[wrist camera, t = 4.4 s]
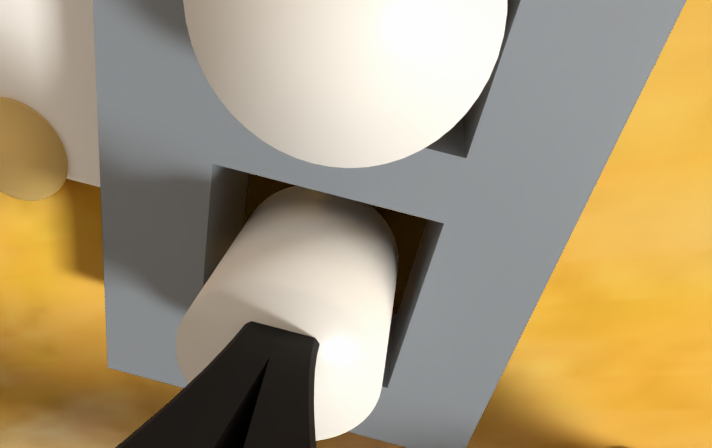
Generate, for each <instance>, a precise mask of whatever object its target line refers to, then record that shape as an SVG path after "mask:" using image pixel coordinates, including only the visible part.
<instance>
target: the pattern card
mask: <svg viewBox="0 0 712 448" xmlns="http://www.w3.org/2000/svg"><path fill="white" fill-rule="evenodd" d="M66 179H70V180H74V181H78V182H82V183H85V184H89V185H93V186H97V187H100V165H99V141H98V117H97V92H96V68H95V43H94V19H93V0H0V191H1V192H3V193H5V194H7V195H9V196H11V197H14V198H17V199H21V200H28V201H36V200H42V199H45V198H48V197H49V196H51V195H53V194H54V193H56V192H57V191H58V190H59V189H61V187H62V186H63V185H64V183H65V181H66Z"/></svg>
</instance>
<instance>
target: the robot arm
mask: <svg viewBox="0 0 712 448" xmlns="http://www.w3.org/2000/svg"><path fill="white" fill-rule="evenodd" d="M319 345H320V344H319V342H318V341H317V339H316V338H314V337H311V336H307V335H303V334H299V333H295V332H291V331H288V330H284V329H280V328H276V327H272V326H269V325H265V324H261V323H257V322H253V321H250V322H248V323H246V324H245V325H244V326H243V327H242V328H241V330H240V331H239V332H238V333H237V334H236V335H235V337H234V338H233V339H232V340H231V341H230V342H229V343H228V345H227V346H226V347H225V348H224V349H223V350H222V351H221V352H220V353H219V354H218V355H217V356H216V357H215V358H214V359H213V360H212V361H211V362H210V363H209V364H208V366H207V367H206V368H205V369H204V370H203V371H202V372H201V373H199V374H198V375H197V376H196V377H195V378H194V379H193V380H192V381H191V382H190V383H189V384H188V385H187V386H186V387H185V388H184V389H183V390H182V391H181V392H179V393H178V394H177V395H176V396H175V397H174V398H173V399H172V400H171V401H170V402H169V403H168V404H166V405H165V406H164V407H163V408H162V409H161V410H160V411H158V412H157V413H156V414H155V415H154V416H153V417H151V418H150V419H149V420H148V421H147V422H145V423H144V424H143V425H142V426H141V427H140V428H138V429H137V430H136V431H135V432H134V433H133V434H131V435H130V436H129V437H128V438H127V439H125V440H124V441H123V442H122V443H120V444H119V445H118V446H117V447H115V448H316V436H315V419H314V380H315V367H316V359H317V354H318V350H319Z"/></svg>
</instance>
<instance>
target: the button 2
mask: <svg viewBox="0 0 712 448" xmlns="http://www.w3.org/2000/svg"><path fill="white" fill-rule="evenodd" d="M398 265H399V255H398V248H397V244H396V240H395V238H394V235H393V233H392V231H391V229H390V227H389V226H388V224H387V222H386V221H385V220H384V219H383V217H382V216H381V215H380V214H379V213H378V212H377V211H376V210H375V209H374V208H373V207H372V206H371V205H369V204H367V203H363V202H359V201H355V200H351V199H347V198H343V197H339V196H336V195H332V194H328V193H324V192H320V191H316V190H312V189H308V188H304V187H301V186H293V187H289V188H286V189H283V190H281V191H278V192H276V193H274V194H272V195H271V196H269V197H268V198H266V199H265V200H264V201H263V202H262V203H261V204H260V205H258V207H257V208H256V209H255V210H254V212H253V213H252V215H251V216H250V218H249V219H248V221H247V222H246V224H245V225H244V227H243V228H242V230H241V231H240V233H239V234H238V236H237V237H236V239H235V240H234V242H233V243H232V245H231V246H230V248H229V249H228V251H227V252H226V254H225V255H224V257H223V258H222V260H221V261H220V263H219V264H218V266H217V267H216V269H215V270H214V272H213V273H212V275H211V276H210V278H209V279H208V281H207V282H206V284H205V285H204V287H203V288H202V290H201V291H200V293H199V294H198V296H197V297H196V299H195V300H194V302H193V303H192V305H191V306H190V308H189V309H188V311H187V312H186V314H185V315H184V317H183V319H182V321H181V323H180V325H179V328H178V331H177V336H176V355H177V360H178V364H179V367H180V370H181V372H182V374H183V376H184V378H185V380H186V382H187V384H189V383H190V382H191V381H192V380H193V379H194V378H195V377H196V376H197V375H198V374H199V373H201V372H202V371H203V370H204V369H205V368H206V367H207V366H208V364H209V363H210V362H211V361H212V360H213V359H214V358H215V357H216V356H217V355H218V354H219V353H220V352H221V351H222V350H223V349H224V348H225V347H226V346H227V345H228V343H229V342H230V341H231V340H232V339H233V338H234V337H235V335H236V334H237V333H238V332H239V331H240V330H241V328H242V327H243V326H244V325H245V324H246V323H248V322H250V321H253V322H257V323H261V324H265V325H269V326H272V327H276V328H280V329H284V330H288V331H291V332H295V333H299V334H303V335H307V336H311V337H314V338H316V339H317V341H318V342H319V344H320V345H319V350H318V354H317V359H316V367H315V380H314V419H315V436H316V441H318V440H324V439H328V438H332V437H336V436H338V435H341V434H343V433H346V432H348V431H349V430H351V429H353V428H355V427H356V426H357V425H359V424H360V423H361V422H363V421H364V420H365V419H366V418H367V417H368V416H369V415H370V413H371V412H372V410H373V409H374V407H375V406H376V404H377V401H378V399H379V397H380V393H381V389H382V382H383V375H384V368H385V361H386V353H387V346H388V339H389V332H390V324H391V317H392V310H393V303H394V296H395V288H396V281H397V274H398Z"/></svg>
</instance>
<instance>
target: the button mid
mask: <svg viewBox="0 0 712 448" xmlns="http://www.w3.org/2000/svg"><path fill="white" fill-rule="evenodd" d="M183 4H184V11H185V19H186V24H187V28H188V32H189V36H190V40H191V44H192V47H193V49H194V52H195V55H196V57H197V60H198V63H199V65H200V67H201V69H202V71H203V73H204V75H205V77H206V79H207V81H208V83H209V84H210V86H211V87H212V89H213V90H214V92H215V93H216V95H217V96H218V98H219V99H220V101H221V102H222V103H223V104H224V105H225V107H226V108H227V109H228V110H229V111H230V113H231V114H232V115H233V116H234V117H235V118H236V119H237V120H238V121H239V122H240V123H241V124H242V125H243V126H244V127H245V128H246V129H248V130H249V131H250V132H252V133H253V134H254V135H256V136H257V137H258V138H259V139H261V140H262V141H264V142H265V143H267V144H269V145H270V146H272V147H274V148H275V149H277V150H279V151H281V152H283V153H286V154H288V155H290V156H292V157H294V158H297V159H300V160H303V161H306V162H310V163H313V164H318V165H323V166H328V167H339V168H362V167H371V166H377V165H383V164H387V163H390V162H393V161H397V160H400V159H403V158H405V157H407V156H410V155H412V154H414V153H416V152H418V151H421V150H422V149H424V148H425V147H427V146H429V145H430V144H432V143H434V142H435V141H437V140H438V139H439V138H441V137H442V136H443V135H444V134H445V133H447V132H448V131H449V130H450V129H452V128H453V127H454V126H455V125H456V124H457V123H458V122H459V120H460V119H461V118H462V117H463V116H464V115H465V114H466V113H467V112H468V110H469V109H470V108H471V106H472V105H473V104H474V102H475V101H476V100H477V98H478V97H479V95H480V94H481V92H482V90H483V88H484V87H485V85H486V83H487V81H488V80H489V78H490V75H491V73H492V70H493V68H494V66H495V63H496V61H497V58H498V55H499V52H500V48H501V44H502V41H503V37H504V31H505V24H506V17H507V0H183Z"/></svg>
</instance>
